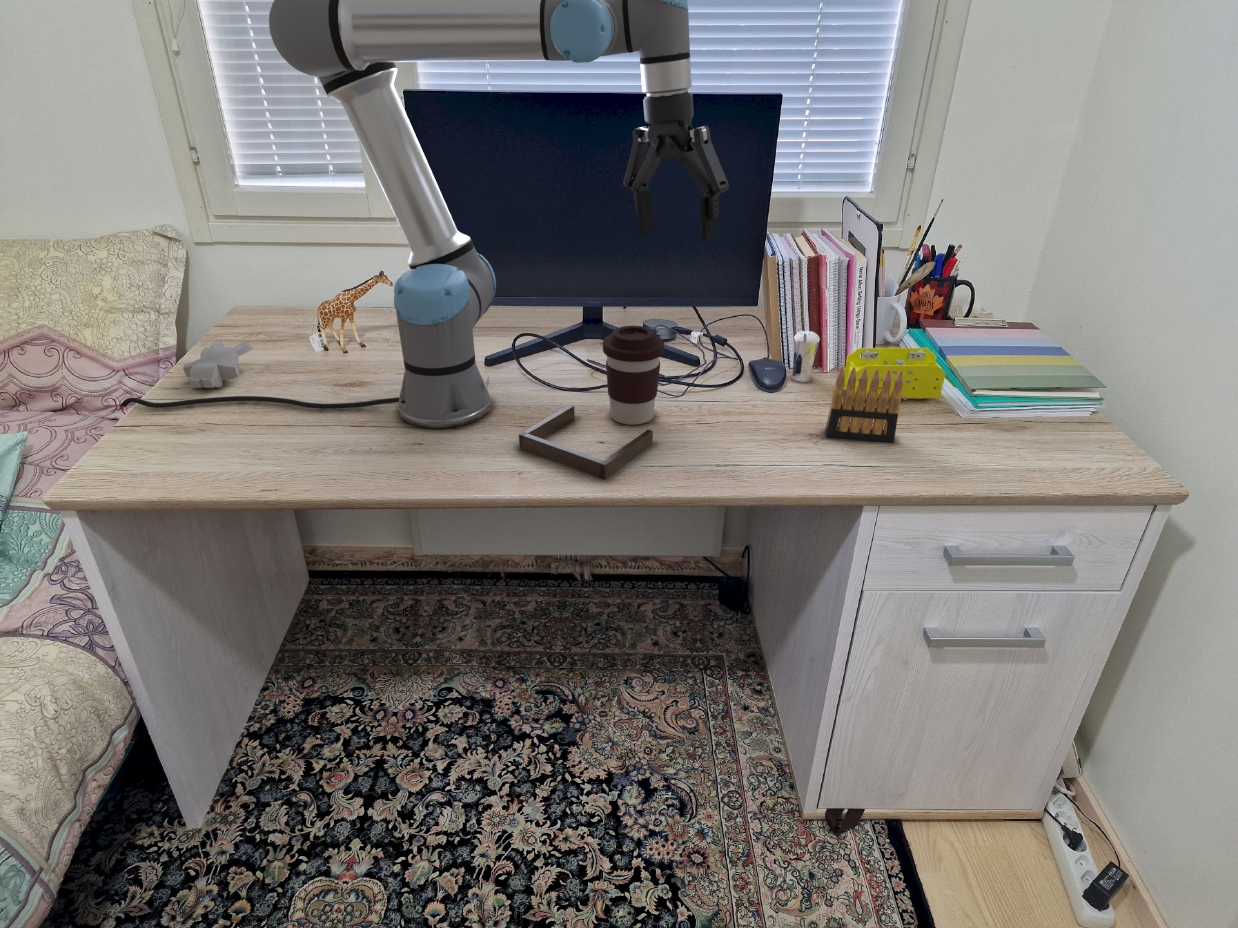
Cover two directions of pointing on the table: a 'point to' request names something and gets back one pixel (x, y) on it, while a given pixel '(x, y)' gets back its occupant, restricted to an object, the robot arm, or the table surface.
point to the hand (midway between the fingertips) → (677, 234)
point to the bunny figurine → (215, 365)
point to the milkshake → (804, 355)
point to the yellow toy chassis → (917, 371)
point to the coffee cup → (632, 373)
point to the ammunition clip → (864, 408)
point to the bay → (583, 462)
